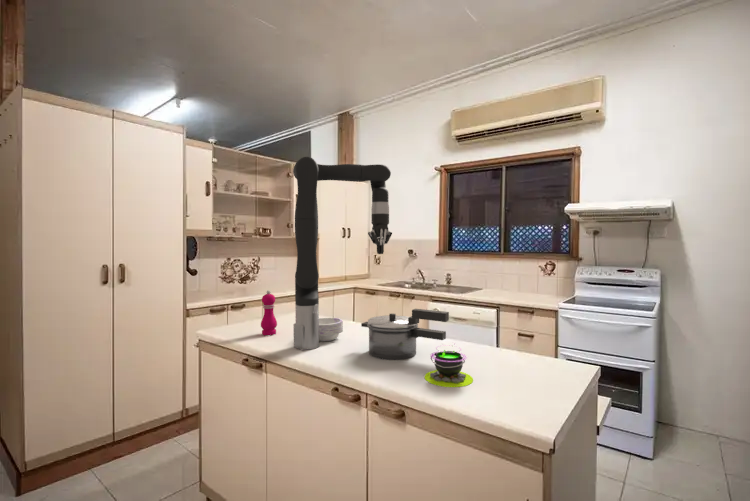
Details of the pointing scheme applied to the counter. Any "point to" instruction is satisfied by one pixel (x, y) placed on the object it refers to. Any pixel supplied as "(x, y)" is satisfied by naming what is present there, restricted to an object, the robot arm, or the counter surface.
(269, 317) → the pepper mill
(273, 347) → the counter surface
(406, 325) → the lid
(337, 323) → the paper bowls
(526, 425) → the counter surface
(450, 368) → the toy cauldron
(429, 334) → the cooker pot
